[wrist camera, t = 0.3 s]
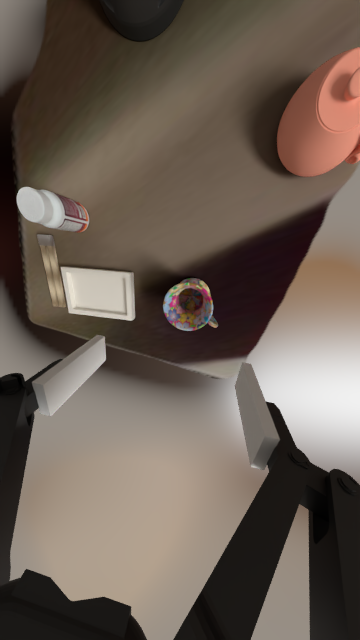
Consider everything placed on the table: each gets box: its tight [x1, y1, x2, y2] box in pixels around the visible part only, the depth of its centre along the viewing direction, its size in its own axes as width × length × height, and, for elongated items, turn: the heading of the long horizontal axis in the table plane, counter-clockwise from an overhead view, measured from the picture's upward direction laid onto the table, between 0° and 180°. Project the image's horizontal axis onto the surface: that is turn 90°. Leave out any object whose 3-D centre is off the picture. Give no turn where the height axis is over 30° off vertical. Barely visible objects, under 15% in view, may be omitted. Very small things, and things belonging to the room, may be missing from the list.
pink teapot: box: [277, 47, 360, 177], centre depth 24 cm, size 12×14×10 cm
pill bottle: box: [17, 187, 89, 232], centre depth 34 cm, size 6×6×11 cm
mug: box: [163, 278, 218, 331], centre depth 36 cm, size 12×9×11 cm
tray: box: [61, 266, 135, 321], centre depth 44 cm, size 12×18×2 cm, turn 86°
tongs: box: [37, 234, 66, 307], centre depth 44 cm, size 18×3×1 cm, turn 176°
